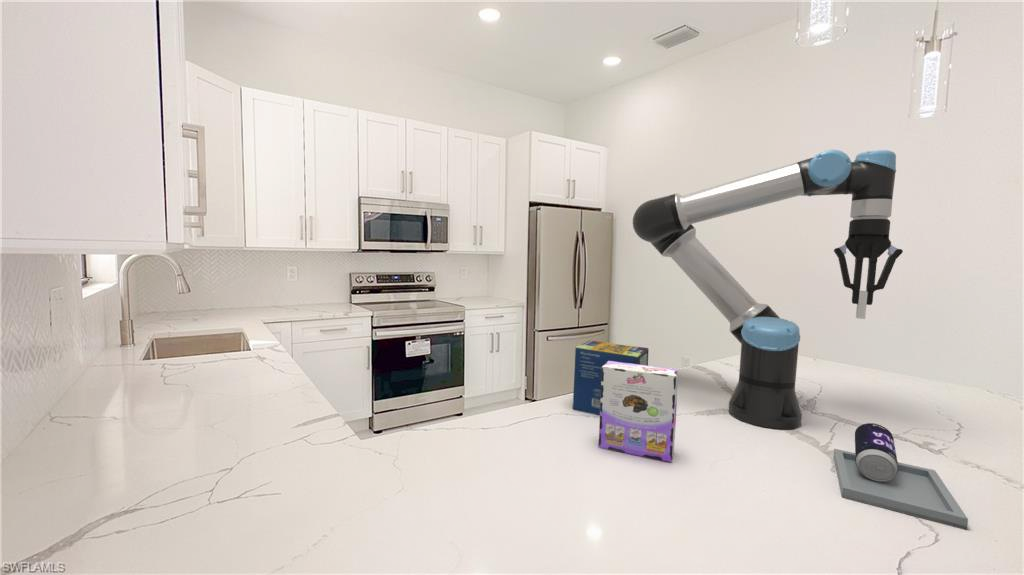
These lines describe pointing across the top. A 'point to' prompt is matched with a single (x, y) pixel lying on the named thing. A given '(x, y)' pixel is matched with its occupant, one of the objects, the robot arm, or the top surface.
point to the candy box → (638, 409)
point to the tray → (900, 491)
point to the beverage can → (875, 452)
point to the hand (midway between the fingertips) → (860, 317)
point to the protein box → (599, 370)
